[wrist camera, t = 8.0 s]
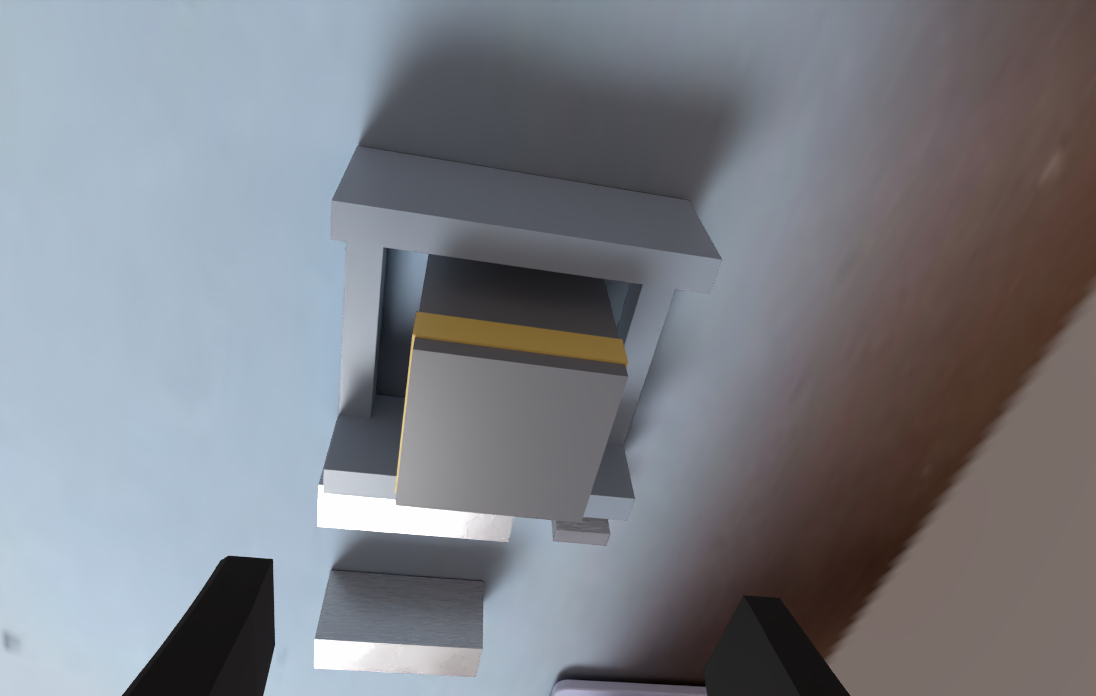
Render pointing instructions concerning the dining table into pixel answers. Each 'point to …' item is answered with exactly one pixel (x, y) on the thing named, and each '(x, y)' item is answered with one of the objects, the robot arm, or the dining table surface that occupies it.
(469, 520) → the brushed metal block
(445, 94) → the dining table surface
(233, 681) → the robot arm
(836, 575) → the dining table surface
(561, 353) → the block
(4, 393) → the dining table surface
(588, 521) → the clip
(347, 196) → the holder
